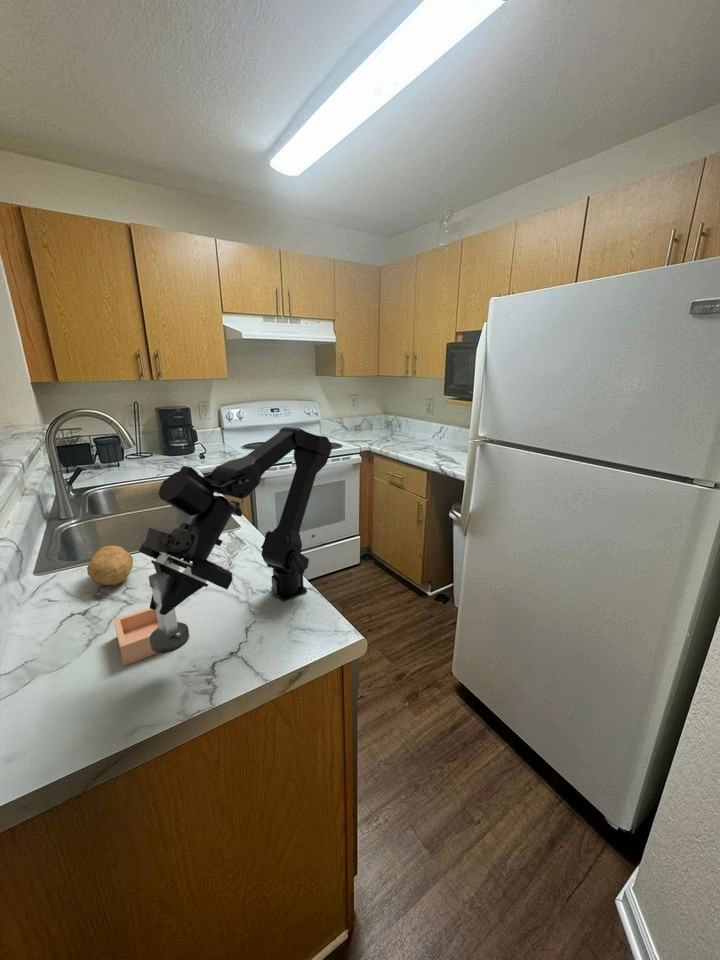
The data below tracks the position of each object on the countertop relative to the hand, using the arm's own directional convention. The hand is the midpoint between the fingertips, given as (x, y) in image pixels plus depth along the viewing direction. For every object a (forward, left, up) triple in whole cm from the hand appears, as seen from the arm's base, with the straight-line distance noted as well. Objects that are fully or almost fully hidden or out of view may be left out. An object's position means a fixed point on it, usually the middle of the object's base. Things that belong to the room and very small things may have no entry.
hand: (157, 611), depth 63 cm
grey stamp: (-1, 0, -7) cm, 7 cm away
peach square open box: (+1, -12, -13) cm, 18 cm away
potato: (+4, -42, -13) cm, 44 cm away
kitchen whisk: (-19, -46, -13) cm, 52 cm away
